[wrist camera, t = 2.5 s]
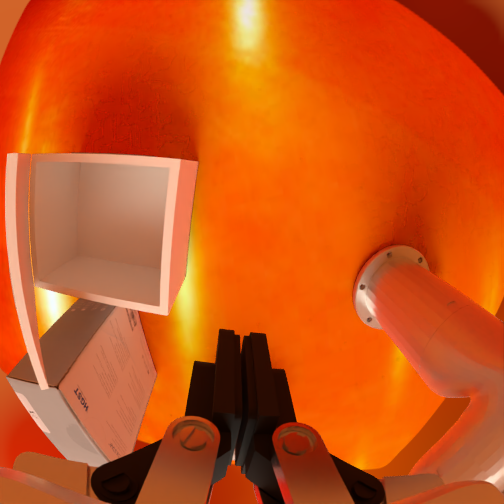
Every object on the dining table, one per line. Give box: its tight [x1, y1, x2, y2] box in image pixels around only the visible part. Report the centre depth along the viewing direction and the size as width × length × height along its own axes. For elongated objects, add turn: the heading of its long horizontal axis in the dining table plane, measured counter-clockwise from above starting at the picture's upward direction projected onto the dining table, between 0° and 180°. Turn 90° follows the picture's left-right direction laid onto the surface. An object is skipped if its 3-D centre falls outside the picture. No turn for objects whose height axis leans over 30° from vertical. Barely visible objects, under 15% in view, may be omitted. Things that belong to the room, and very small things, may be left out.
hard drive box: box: [6, 298, 157, 467], centre depth 28 cm, size 16×8×20 cm, turn 5°
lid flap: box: [5, 153, 49, 390], centre depth 16 cm, size 16×14×1 cm
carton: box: [29, 153, 198, 316], centre depth 27 cm, size 16×14×10 cm
